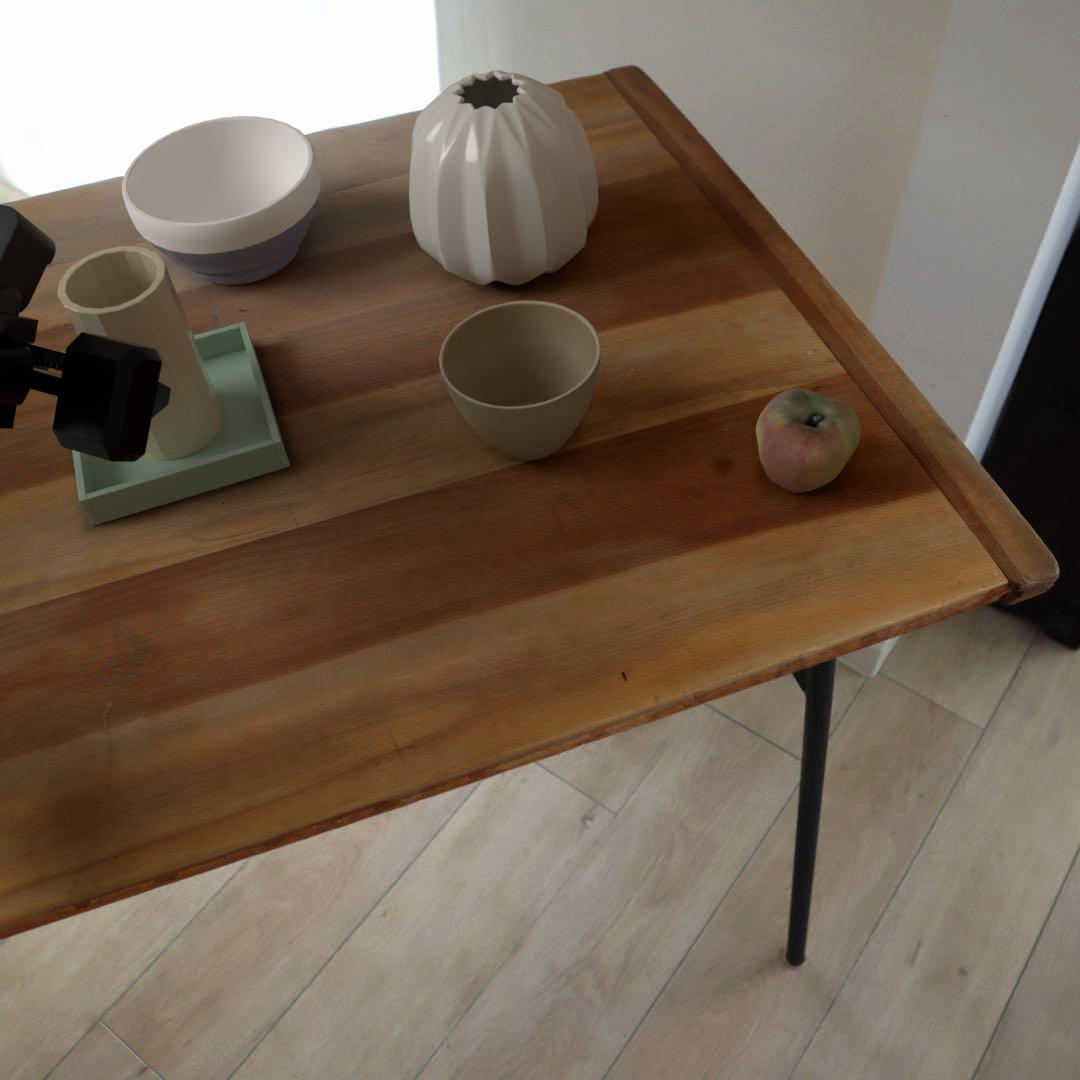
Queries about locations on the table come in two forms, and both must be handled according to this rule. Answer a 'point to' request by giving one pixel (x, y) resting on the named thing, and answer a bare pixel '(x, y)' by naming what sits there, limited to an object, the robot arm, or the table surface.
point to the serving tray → (227, 459)
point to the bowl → (226, 196)
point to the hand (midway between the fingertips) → (106, 379)
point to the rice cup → (147, 339)
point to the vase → (501, 179)
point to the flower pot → (522, 375)
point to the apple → (806, 439)
